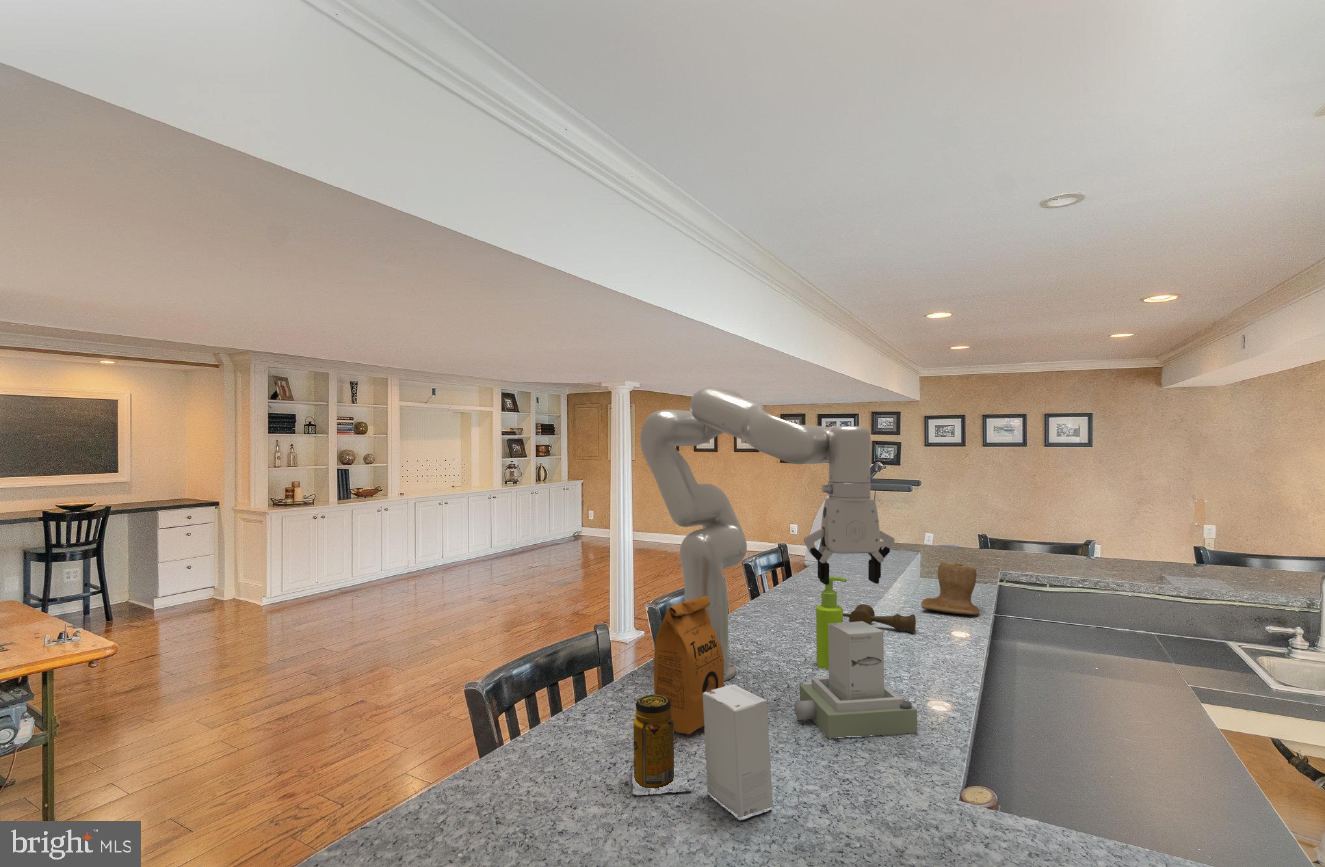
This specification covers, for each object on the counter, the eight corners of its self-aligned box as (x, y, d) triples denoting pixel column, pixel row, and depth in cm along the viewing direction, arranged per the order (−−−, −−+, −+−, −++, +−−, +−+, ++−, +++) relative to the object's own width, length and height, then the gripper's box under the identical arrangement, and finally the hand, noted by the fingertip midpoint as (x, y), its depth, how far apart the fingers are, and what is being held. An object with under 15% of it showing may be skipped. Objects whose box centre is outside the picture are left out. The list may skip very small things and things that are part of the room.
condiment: (630, 771, 95) (629, 692, 96) (685, 768, 96) (684, 689, 96) (632, 797, 88) (632, 712, 88) (691, 794, 89) (691, 709, 89)
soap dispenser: (849, 671, 137) (848, 580, 138) (817, 669, 138) (816, 579, 139) (847, 662, 143) (845, 575, 143) (816, 660, 144) (814, 574, 145)
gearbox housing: (811, 740, 104) (811, 707, 105) (784, 706, 118) (784, 677, 119) (917, 732, 107) (916, 700, 107) (878, 700, 121) (878, 672, 121)
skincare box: (773, 811, 84) (772, 700, 85) (737, 825, 81) (736, 710, 82) (737, 782, 92) (735, 681, 92) (702, 794, 89) (701, 689, 89)
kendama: (914, 640, 161) (835, 629, 169) (916, 631, 169) (841, 621, 178) (914, 616, 161) (836, 606, 170) (917, 609, 170) (842, 600, 178)
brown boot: (981, 610, 187) (980, 560, 187) (976, 620, 177) (975, 567, 177) (928, 604, 195) (927, 556, 196) (920, 612, 185) (919, 562, 186)
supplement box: (848, 706, 109) (847, 633, 109) (828, 690, 116) (826, 622, 116) (886, 702, 110) (884, 630, 111) (863, 686, 118) (862, 619, 118)
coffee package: (733, 720, 113) (732, 598, 113) (687, 743, 104) (686, 611, 105) (693, 704, 120) (691, 590, 120) (646, 725, 111) (645, 601, 112)
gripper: (811, 493, 112) (811, 588, 112) (902, 493, 114) (902, 586, 114) (798, 490, 120) (798, 579, 119) (884, 490, 121) (884, 577, 121)
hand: (849, 582), depth 117 cm, fingers open, 9 cm apart
